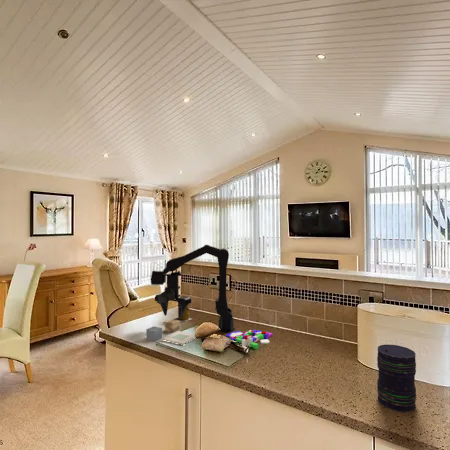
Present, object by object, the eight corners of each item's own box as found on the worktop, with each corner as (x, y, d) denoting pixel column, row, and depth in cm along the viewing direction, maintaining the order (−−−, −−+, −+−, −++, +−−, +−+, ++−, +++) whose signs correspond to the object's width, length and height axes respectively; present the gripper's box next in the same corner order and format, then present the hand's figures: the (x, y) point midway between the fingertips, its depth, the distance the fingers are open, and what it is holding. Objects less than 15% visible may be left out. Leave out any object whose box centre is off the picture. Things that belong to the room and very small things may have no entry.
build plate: (199, 337, 146) (199, 335, 146) (183, 345, 136) (183, 343, 136) (178, 333, 152) (178, 330, 152) (161, 340, 142) (161, 338, 142)
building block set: (246, 329, 159) (246, 320, 159) (281, 339, 145) (281, 329, 145) (210, 342, 141) (210, 332, 141) (245, 355, 127) (245, 344, 127)
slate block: (162, 337, 146) (162, 328, 146) (154, 341, 142) (154, 331, 142) (153, 336, 148) (153, 326, 148) (146, 339, 144) (146, 329, 144)
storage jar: (405, 394, 96) (405, 344, 96) (423, 413, 87) (423, 358, 87) (371, 393, 97) (371, 344, 97) (385, 411, 87) (385, 357, 87)
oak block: (179, 329, 157) (179, 320, 157) (173, 332, 153) (173, 323, 153) (171, 328, 160) (171, 319, 160) (165, 331, 155) (165, 321, 155)
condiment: (192, 319, 175) (192, 297, 175) (179, 322, 169) (179, 299, 169) (184, 316, 180) (184, 295, 180) (171, 319, 174) (171, 297, 174)
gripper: (146, 285, 154) (146, 318, 154) (177, 289, 145) (177, 323, 145) (162, 282, 164) (162, 312, 164) (191, 285, 154) (192, 317, 154)
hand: (172, 316), depth 156 cm, fingers open, 9 cm apart
